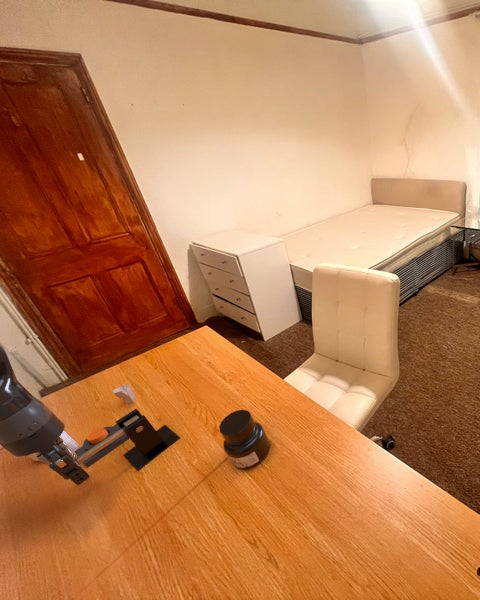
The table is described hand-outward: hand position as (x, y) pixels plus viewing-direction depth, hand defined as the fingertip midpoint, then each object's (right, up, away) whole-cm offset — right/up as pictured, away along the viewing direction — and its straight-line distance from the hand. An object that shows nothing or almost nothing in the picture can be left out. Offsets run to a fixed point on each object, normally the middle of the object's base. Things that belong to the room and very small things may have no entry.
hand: (78, 473), depth 67 cm
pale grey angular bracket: (-12, +7, +27) cm, 30 cm away
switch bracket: (+7, 0, +12) cm, 14 cm away
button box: (-7, -1, +14) cm, 15 cm away
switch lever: (+3, +4, +4) cm, 7 cm away
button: (-7, +2, +12) cm, 14 cm away
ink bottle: (+33, 0, +10) cm, 35 cm away
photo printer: (-19, -2, +13) cm, 23 cm away
